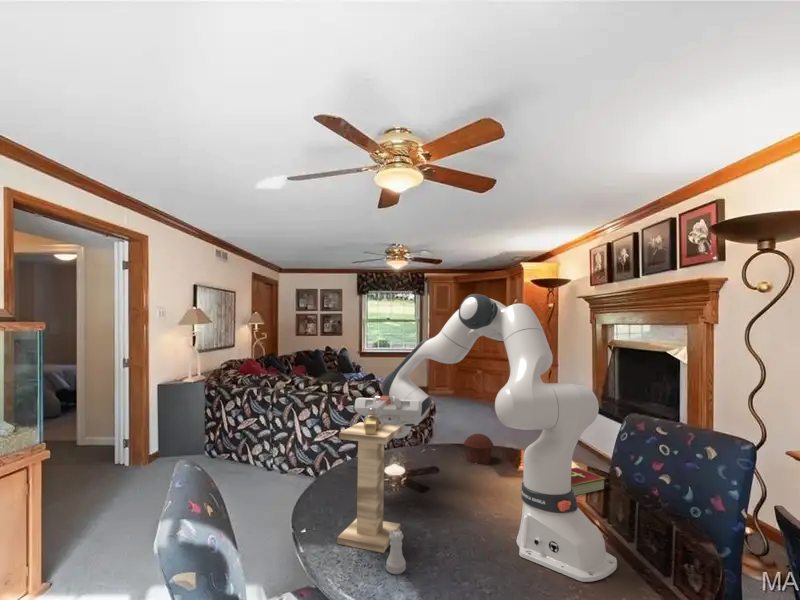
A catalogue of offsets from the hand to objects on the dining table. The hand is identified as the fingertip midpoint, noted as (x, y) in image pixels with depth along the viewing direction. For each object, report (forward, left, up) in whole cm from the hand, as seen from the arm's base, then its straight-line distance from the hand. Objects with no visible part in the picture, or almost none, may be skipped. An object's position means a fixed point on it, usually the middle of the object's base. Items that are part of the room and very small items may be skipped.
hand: (384, 398), depth 126 cm
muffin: (+17, -55, -32) cm, 66 cm away
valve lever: (-4, +5, -1) cm, 6 cm away
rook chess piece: (-26, +14, -32) cm, 43 cm away
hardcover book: (-19, -60, -32) cm, 71 cm away
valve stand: (-10, +11, -32) cm, 35 cm away
